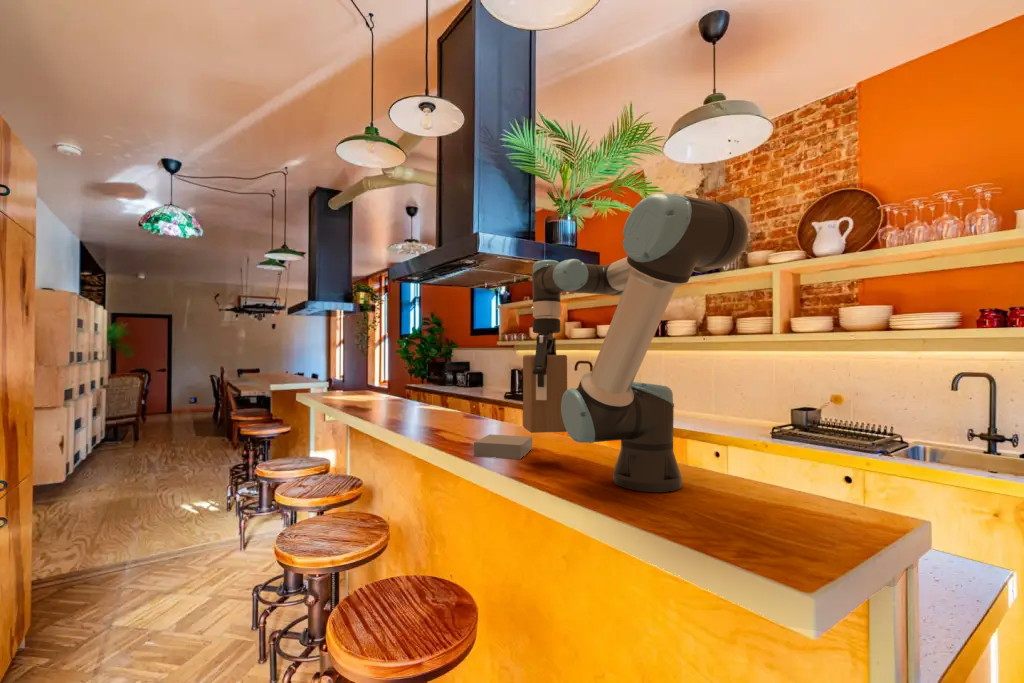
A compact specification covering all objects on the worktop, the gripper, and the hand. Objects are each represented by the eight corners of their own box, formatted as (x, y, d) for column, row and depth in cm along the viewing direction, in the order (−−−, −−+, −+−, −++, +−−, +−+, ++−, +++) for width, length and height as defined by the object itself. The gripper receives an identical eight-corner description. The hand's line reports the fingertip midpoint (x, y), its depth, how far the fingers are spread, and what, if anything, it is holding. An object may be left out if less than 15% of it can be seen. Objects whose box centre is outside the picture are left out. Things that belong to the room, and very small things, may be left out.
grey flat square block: (520, 459, 131) (520, 445, 131) (473, 456, 135) (474, 442, 135) (532, 449, 145) (532, 436, 145) (489, 447, 148) (489, 434, 149)
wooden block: (522, 427, 129) (522, 355, 130) (557, 426, 131) (557, 355, 131) (530, 433, 119) (530, 354, 120) (568, 432, 121) (567, 354, 122)
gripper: (542, 322, 139) (542, 394, 138) (521, 314, 115) (521, 401, 115) (567, 321, 137) (567, 394, 136) (551, 313, 113) (551, 402, 113)
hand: (546, 398), depth 125 cm, fingers closed on wooden block, 12 cm apart
